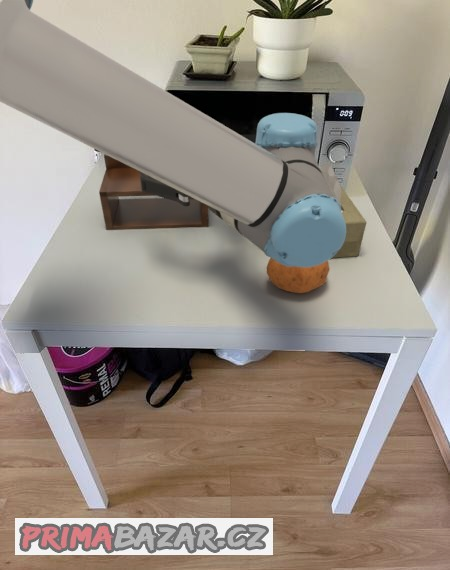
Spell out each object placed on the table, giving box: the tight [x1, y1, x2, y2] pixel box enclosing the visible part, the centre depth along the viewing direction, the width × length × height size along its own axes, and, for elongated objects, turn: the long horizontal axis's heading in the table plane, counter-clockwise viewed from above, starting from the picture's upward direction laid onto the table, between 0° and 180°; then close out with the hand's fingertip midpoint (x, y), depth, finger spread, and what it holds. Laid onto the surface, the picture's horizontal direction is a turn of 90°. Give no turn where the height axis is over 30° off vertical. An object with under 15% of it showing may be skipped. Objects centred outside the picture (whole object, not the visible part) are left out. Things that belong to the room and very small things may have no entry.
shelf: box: [98, 153, 209, 231], centre depth 96 cm, size 22×12×12 cm, turn 94°
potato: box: [265, 257, 330, 294], centre depth 79 cm, size 9×11×8 cm
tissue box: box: [318, 162, 367, 259], centre depth 90 cm, size 19×10×16 cm, turn 7°
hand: (171, 154), depth 83 cm, fingers open, 13 cm apart
